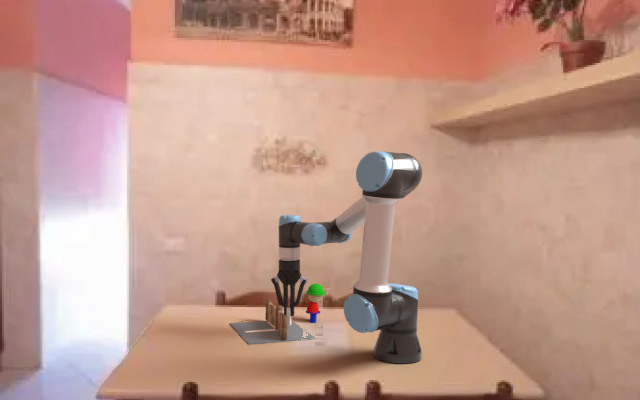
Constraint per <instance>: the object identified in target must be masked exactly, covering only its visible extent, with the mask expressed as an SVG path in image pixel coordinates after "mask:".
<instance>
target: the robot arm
mask: <svg viewBox="0 0 640 400" xmlns="http://www.w3.org/2000/svg"><path fill="white" fill-rule="evenodd" d="M355 178H356V182H357V183H358V184H357V185H358V186H359V188H361V189H362V190H361V191H362V192H361V193H362V194H361V197H360V198H359V199H358V200H356V202H354V203H353V204H352V205H351V206H349V207H347V209H345V210H344V211H343V212H342V213H340V214H339V215H338V216H337V217H335V218H334V219H333V220H331V221H323V222H322V221H321V222H305V221H304V222H303V221H302V220H301V216H300V215H297V214H283V215H280V216H279V218H278V219H279V220H278V258H279V260H278V271H277V274H276V275H275V276H274V277H272V278H271V283H272V284H273V287H274V290H275V294H276V299H277V303H278V306H283V314H284V315H288V323H287V326H290V325H291V320H292V317H294V316H295V307H298V306H299V304H301V300H302V295H303V291H304V288H305V285H306V284H307V282H308V278H305V277H303V276H302V273H301V260H300V258H301V245H306V246H310V247H319V246H322V245H325V244H341V243H345V242H346V243H347V242H348V241H351V238H352V236H353V233H354V232H355V231H356V230H358V229H359V228H360V227H362V226H363V235H362V236H363V237H362V248H361V255H360V256H361V259H360V267H359V268H360V270H359V279H358V280H357V281H356V282H355V283H353V287H352V288H353V289H352V294H350V295H348V296H347V298H345V300H344V303H343V315H344V318H345V320H346V322H347V323H348V325H349V326H350V327H351V329H353V331H356V332H357V333H360V334H361V333H362V334H366V333H374V332H376V331H379V332H378V333H379V334H378V337H377V339H376V342H375V345H374V348H373V355H374V358H376V359H378V360H380V361H381V362H382V361H383V362H387V363H393V364H414V363H417V362H420V361H421V360H422V358H423V357H422V355H423V354H422V353H423V352H422V348H421V344H420V341H419V340H420V339H419V337H418V336H419V335H418V331H417V330H418V312H419V308H418V307H419V301H420V299H419V292H418V289H417V288H416V287H414V286H411V285H406V284H400V283H390V282H389V275H390V274H389V271H390V264H391V263H390V262H391V253H392V252H391V250H392V242H393V232H394V224H395V223H394V222H395V212H396V204H397V203H398V202H400V201H401V200H402V199H405V197H407V196H408V195H410V194H411V193H412V192H413V191H414V190H416V189H417V188H418V187H419V185H420V183H421V181H422V178H423V169H422V166H421V163H420V161H419V160H418V159H417V158H416V157H415V156H413V155H411V154H409V153H406V152H405V153H404V152H393V151H392V152H391V151H386V150H385V151H384V150H379V151H377V150H376V151H369V152H368V153H367V154H365V155H364V156H363V157H362V158H361V159H360V161H359V163H358V164H357V167H356V171H355ZM279 282H281V284H282V289H283V293H282V291H281V286H280V283H279ZM298 282H299V283H300V285H299V286H298V292H297V295H296V284H297V283H298ZM289 289H290V290H289ZM282 294H283V295H282ZM289 295H290V296H289ZM292 321H293V320H292Z"/></svg>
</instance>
